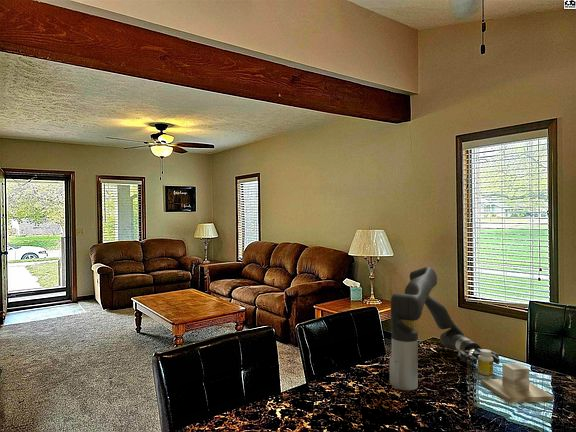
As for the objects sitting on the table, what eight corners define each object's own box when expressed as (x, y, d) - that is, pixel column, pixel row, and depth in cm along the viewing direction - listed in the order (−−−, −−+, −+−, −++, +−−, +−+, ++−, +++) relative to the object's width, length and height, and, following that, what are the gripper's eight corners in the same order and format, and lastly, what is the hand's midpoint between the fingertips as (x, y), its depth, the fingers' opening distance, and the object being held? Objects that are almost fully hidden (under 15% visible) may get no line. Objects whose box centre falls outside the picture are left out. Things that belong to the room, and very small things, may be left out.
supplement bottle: (491, 379, 158) (491, 353, 158) (476, 376, 161) (476, 351, 161) (494, 375, 162) (494, 350, 162) (479, 372, 165) (479, 347, 165)
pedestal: (508, 402, 138) (508, 375, 138) (481, 383, 154) (481, 359, 154) (553, 400, 140) (553, 373, 140) (521, 381, 156) (521, 357, 156)
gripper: (451, 339, 176) (468, 351, 160) (484, 339, 177) (505, 351, 160) (451, 357, 176) (468, 371, 160) (484, 357, 177) (505, 371, 160)
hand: (487, 361), depth 160 cm, fingers open, 8 cm apart
